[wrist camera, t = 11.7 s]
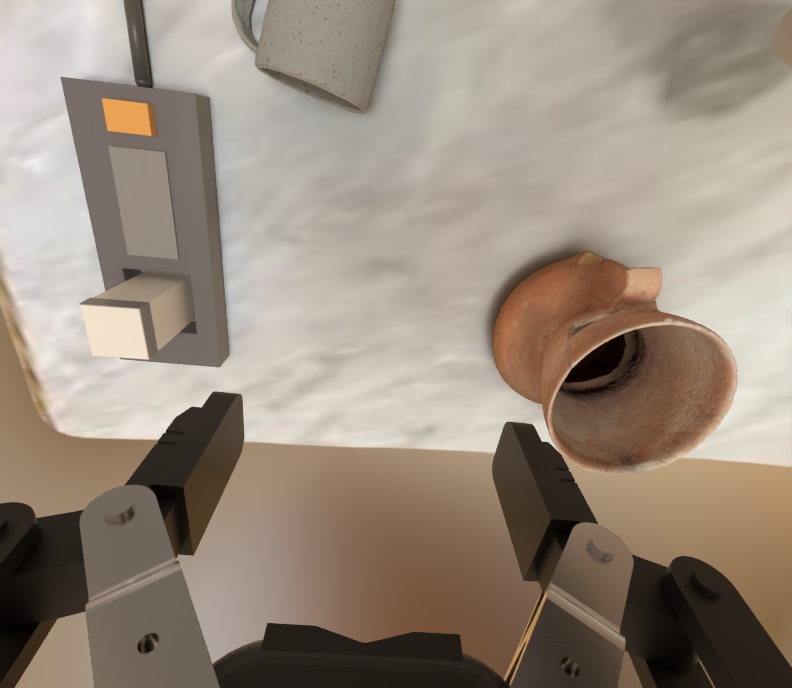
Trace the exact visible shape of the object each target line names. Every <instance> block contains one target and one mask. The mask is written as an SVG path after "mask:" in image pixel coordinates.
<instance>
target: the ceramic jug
mask: <svg viewBox="0 0 792 688" xmlns="http://www.w3.org/2000/svg"><path fill="white" fill-rule="evenodd" d="M661 281H662V272H661V269H659V268H654V267H646V268H630V269H629V268H628V267H626V266H624V265H621V264H619V263H617V262H614V261H610V260H606V259H603V258H602V257H600V256H597V255H596V254H594V253H591V252H588V251H587V252H586V251H585V252H583V253H581V254H578V255H576V256H573V257H571V258H568V259H564V260H561V261H558V262H555V263H552V264H550V265H548V266H545V267H544V268H541V269H540V270H538V271H536V272H535V273H533V274H532V275H530V276H529V277H527V278H526V279H525V280H524V281H523V282H521V283H520V284H519V285H518V286H517V287H516V288H515V289H514V290H513V292H512V293H511V294H510V295H509V297H508V298H507V299H506V301H505V302H504V304H503V306H502V308H501V310H500V312H499V314H498V316H497V319H496V322H495V325H494V330H493V338H492V347H493V355H494V360H495V363H496V366H497V368H498V371H499V373H500V374H501V376H502V378H503V379H504V380H505V382H506V383H507V384H508V385H509V386H510V387H511V388H512V389H513V390H514V391H515V392H517V393H518V394H520V395H521V396H523V397H524V398H526V399H528V400H531V401H533V402H536V403H539V404H542V406H543V412H544V417H545V421H546V425H547V428H548V431H549V434H550V436H551V439H552V441H553V443H554V444H555V446H556V447H557V449H558V450H559V452H560V453H561V454H562V455H563V456H564V457H566V458H567V460H569V461H570V462H572V463H573V464H574V465H576V466H578V467H580V468H582V469H584V470H587V471H591V472H594V473H595V472H596V473H603V474H606V475H616V476H624V475H625V476H626V475H634V474H638V473H642V472H645V471H649V470H653V469H657V468H660V467H664V466H666V465H668V464H670V463H672V462H673V461H676V460H677V459H679V458H680V457H682V456H684V455H686V454H688V453H689V452H690V451H692V450H693V449H695V448H696V447H697V446H698V445H699V444H700V443H701V442H703V441H704V440H705V438H706V437H707V436H708V435H709V434H711V433H712V432H713V431H714V430H715V429H716V428H717V426H718V425H719V424H720V423H721V421H722V419H723V418H724V416H725V415H726V414H727V411H728V410H729V408H730V406H731V403H732V401H733V398H734V394H735V392H736V388H737V366H736V361H735V358H734V356H733V353H732V351H731V349H730V348H729V346H728V345H727V343H726V342H725V341H724V340H723V339H722V338H721V337H720V336H719V335H717V334H716V333H715V332H713V331H712V330H710V329H708V328H707V327H705V326H703V325H701V324H698V323H696V322H694V321H691V320H689V319H686V318H683V317H679V316H676V315H672V314H668V313H663V312H661V311H659V310H657V306H656V302H655V299H656V297H657V295H658V294H659V291H660V288H661Z"/></svg>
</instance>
